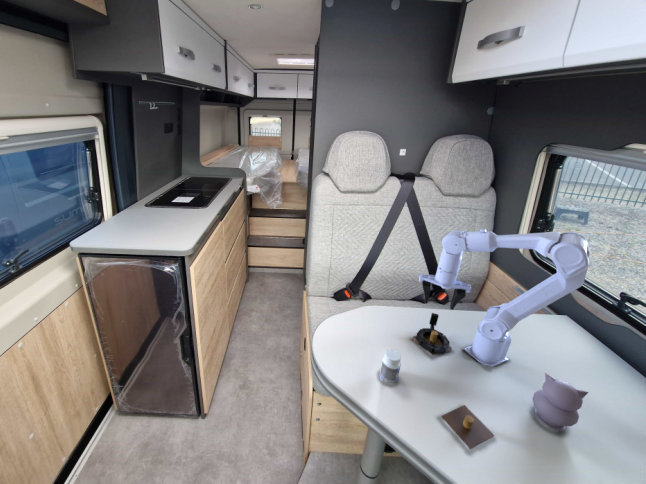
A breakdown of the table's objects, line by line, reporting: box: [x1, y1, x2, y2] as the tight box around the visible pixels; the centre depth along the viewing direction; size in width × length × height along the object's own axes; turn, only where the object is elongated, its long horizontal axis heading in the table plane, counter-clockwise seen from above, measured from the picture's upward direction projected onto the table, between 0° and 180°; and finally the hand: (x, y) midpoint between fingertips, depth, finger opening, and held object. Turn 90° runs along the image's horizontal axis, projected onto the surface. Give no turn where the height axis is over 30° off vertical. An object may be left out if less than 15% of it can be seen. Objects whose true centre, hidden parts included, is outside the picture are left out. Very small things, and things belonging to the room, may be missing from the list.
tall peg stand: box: [411, 331, 452, 356], centre depth 96 cm, size 8×8×5 cm
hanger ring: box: [415, 312, 451, 355], centre depth 96 cm, size 12×9×6 cm
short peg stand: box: [440, 404, 496, 450], centre depth 71 cm, size 8×8×4 cm
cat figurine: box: [532, 372, 589, 435], centre depth 73 cm, size 8×8×12 cm
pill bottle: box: [379, 348, 402, 383], centre depth 83 cm, size 5×5×8 cm
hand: (438, 304), depth 99 cm, fingers open, 7 cm apart
